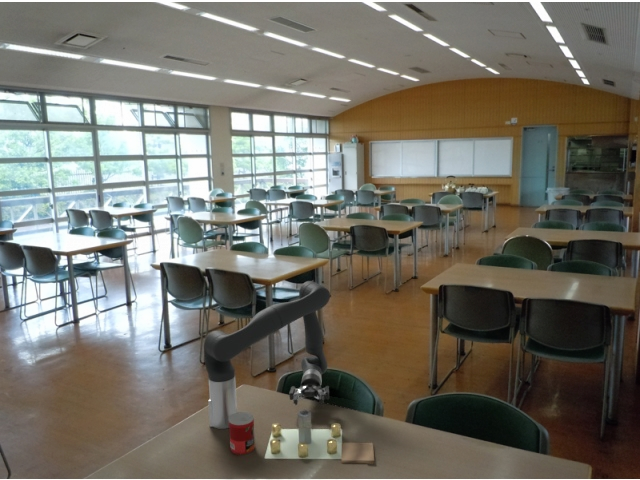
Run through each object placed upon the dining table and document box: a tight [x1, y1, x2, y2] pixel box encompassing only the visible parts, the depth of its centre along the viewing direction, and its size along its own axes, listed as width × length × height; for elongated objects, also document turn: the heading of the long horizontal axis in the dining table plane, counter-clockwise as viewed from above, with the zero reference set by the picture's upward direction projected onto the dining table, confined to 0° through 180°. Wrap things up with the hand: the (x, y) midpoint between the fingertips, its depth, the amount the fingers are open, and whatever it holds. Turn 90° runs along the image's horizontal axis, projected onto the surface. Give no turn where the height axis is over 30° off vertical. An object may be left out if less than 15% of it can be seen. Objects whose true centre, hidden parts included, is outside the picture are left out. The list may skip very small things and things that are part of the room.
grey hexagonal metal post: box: [297, 409, 312, 444], centre depth 173 cm, size 4×5×10 cm
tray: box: [340, 442, 375, 465], centre depth 166 cm, size 10×10×1 cm
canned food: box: [228, 411, 256, 456], centre depth 170 cm, size 8×8×11 cm
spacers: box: [270, 422, 342, 458], centre depth 171 cm, size 23×15×4 cm, turn 87°
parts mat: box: [264, 428, 343, 460], centre depth 173 cm, size 24×18×1 cm
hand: (308, 402), depth 184 cm, fingers open, 8 cm apart
